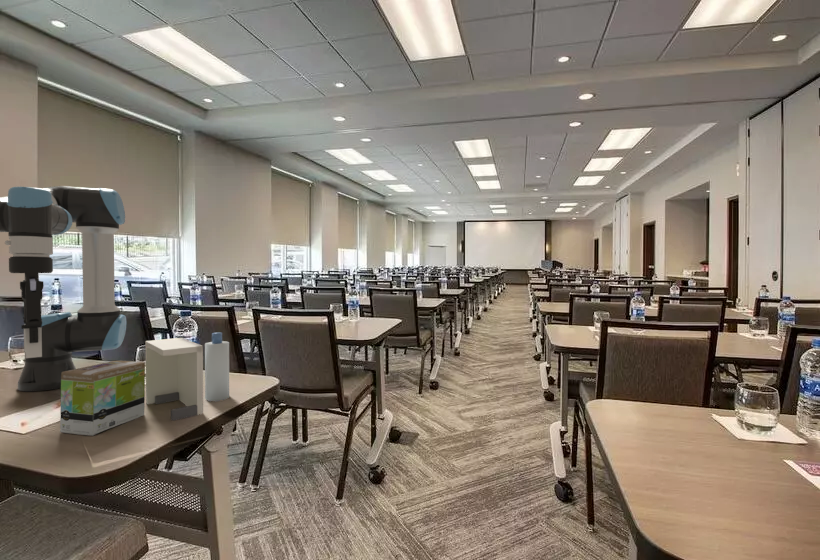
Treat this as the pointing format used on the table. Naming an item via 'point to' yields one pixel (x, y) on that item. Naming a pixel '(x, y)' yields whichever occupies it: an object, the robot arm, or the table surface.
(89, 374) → the tea box
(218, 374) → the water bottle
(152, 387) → the shelf
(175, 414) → the rails
